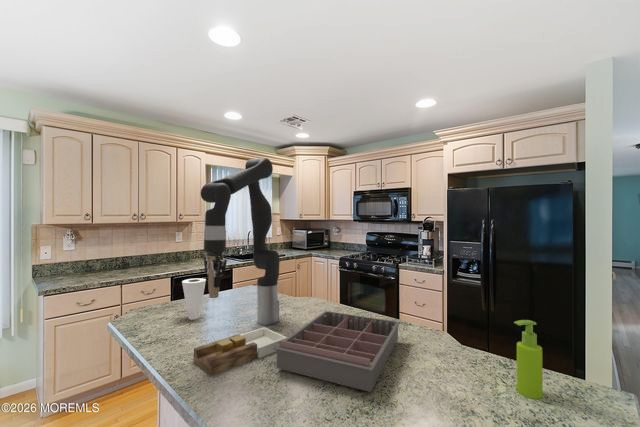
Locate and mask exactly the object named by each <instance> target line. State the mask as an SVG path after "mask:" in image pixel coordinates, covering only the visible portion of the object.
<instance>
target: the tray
mask: <svg viewBox="0 0 640 427" xmlns="http://www.w3.org/2000/svg"><path fill="white" fill-rule="evenodd" d="M240 335H241V336H243V337H245V338H246V345H247V344H250V343H253V342H254V343H256V344H257V351H258V357H257V359H261V358H263V357H267V356H268V355H271V354H274V353H277V349H274V347H276V346H277V345H278V344H279V341H280V340H281V341H284V340H286V339H287V338H288V337H287V336H285V335H282V334H280V333H279V332H276V331H274V330H271V329H270V328H268V327H265V326H263V327H259V328H256V329H254V330H251V331H247V332H244V333H242V334H240Z"/></svg>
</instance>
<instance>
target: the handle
mask: <svg viewBox="0 0 640 427" xmlns="http://www.w3.org/2000/svg"><path fill="white" fill-rule="evenodd" d="M205 257H206V259H207V260H208V261H209V262H210V261H211V260H213V261H215V256H211V255H208V254H206V255H205ZM222 257H223V258H222V259H224V255H223V254H222ZM215 268H217V267H215ZM216 272H217V270H216ZM208 281H209V282H208ZM207 285H208V286H207V289H208V294H209V295H208V296H209V299H216V298H219V295H220V294H219V293H220V288H221V286H220V287H217V288H215V287H214V271H213V270H212V265H211V262H210V268H209V280H208V279H207Z"/></svg>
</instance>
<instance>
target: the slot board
mask: <svg viewBox="0 0 640 427" xmlns="http://www.w3.org/2000/svg"><path fill="white" fill-rule="evenodd" d="M238 335H240V334H235V335H232V336H229V337H226V338H222V339H220V340H215V341H213V342H210V343H206V344H203V345H200V346H197V347H193V361H192V362H193V363H195V365H197V366H198V367H199V368H201V369H202V370H203V371H204V372H206V374H208V375H209V376H210V377H211V376H215V375H217V374H220V373H222V372H224V371H226V370H229V369H232V368H234V367H237V366H239V365H243V364H244V363H247V362H249V361H251V360H254V359H258V351H257V344H256V343H254V342H253V343H250V344H247V345H244V346H242V347H239V348H236V349H233V350H230V351H227V352H225V353H222V354H219V355H217V354H216V342H219V341H222V340H225V339H228V340H230V338H232V337H235V336H238Z"/></svg>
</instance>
